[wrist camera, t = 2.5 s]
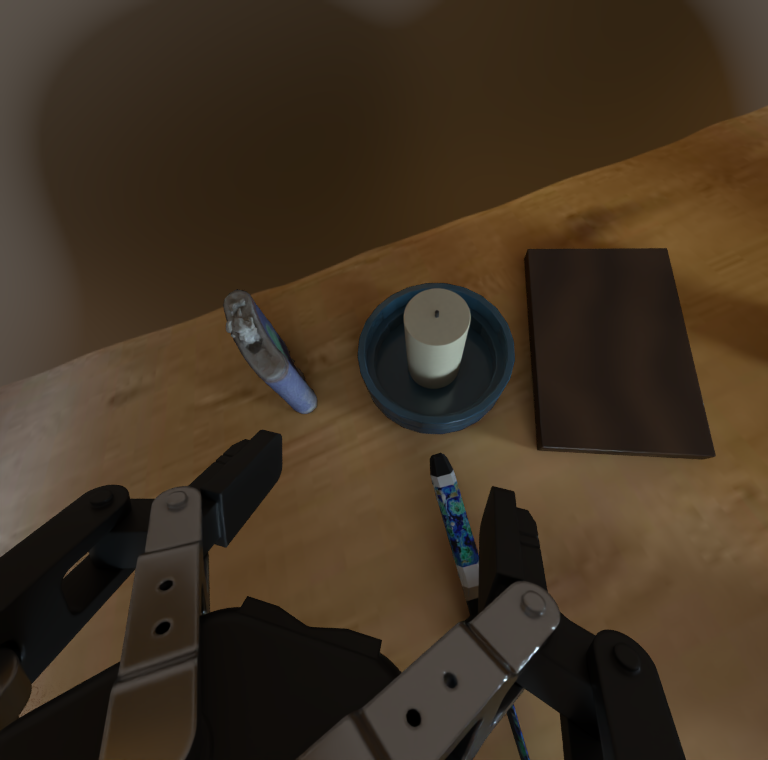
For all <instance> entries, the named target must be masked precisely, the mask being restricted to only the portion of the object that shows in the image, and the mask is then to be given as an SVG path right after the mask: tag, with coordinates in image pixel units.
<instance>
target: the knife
mask: <svg viewBox="0 0 768 760" xmlns="http://www.w3.org/2000/svg"><path fill="white" fill-rule="evenodd" d="M430 475H431V479H432V484H433V486H434V490H435V493H436V499H437V500H438V504H439V507H440V511H441V514H442V518H443V521H444V525H445V528H446V532H447V535H448V539H449V542H450V546H451V549H452V554H453V558H454V560H455V563H456V567H457V570H458V576H459V578H460V581H461V584H462V588H463V591H464V595H465V598H466V602H467V605H468V609H469V612H470V616H469V617H468V618H467V619H466V620H465V622H466V623H469V622H471V621H472V620H473V619H474V618H475V617H476V616H477V615H478V586H479V555H478V551H477V548H476V545H475V542H474V538H473V535H472V531H471V528H470V525H469V521H468V518H467V514H466V511H465V508H464V504H463V501H462V498H461V494H460V490H459V487H458V484H457V481H456V476H455V474H454V471H453V468H452V466H451V464H450V462H449V461H448V459H447V457H446V456H445V455H444V454H442V453H438V454H435V455H432V456H431V458H430ZM507 716H508V719H509V722H510V726H511V729H512V732H513V735H514V739H515V742H516V745H517V748H518V752H519V755H520V758H521V760H530V759H529V756H528V752H527V749H526V745H525V742H524V739H523V735H522V732H521V729H520V725H519V722H518V718H517V715H516V711H515V707H514V704H513V705H512V706H511V707H510V709H509V710H508V711H507Z"/></svg>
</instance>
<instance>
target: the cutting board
mask: <svg viewBox="0 0 768 760" xmlns="http://www.w3.org/2000/svg"><path fill="white" fill-rule="evenodd" d="M524 264H525V278H526V293H527V307H528V322H529V336H530V351H531V365H532V380H533V394H534V408H535V423H536V437H537V450H539V451H557V452H576V453H594V454H612V455H630V456H649V457H667V458H685V459H707V458H711V457H715V456H716V455H715V451H714V447H713V442H712V438H711V434H710V429H709V425H708V421H707V417H706V412H705V408H704V404H703V400H702V395H701V391H700V387H699V383H698V378H697V374H696V370H695V365H694V361H693V357H692V353H691V348H690V344H689V340H688V336H687V331H686V327H685V323H684V319H683V314H682V310H681V306H680V301H679V297H678V293H677V289H676V284H675V280H674V276H673V272H672V267H671V263H670V259H669V255H668V250H667V248H648V249H528V250H527V252H526V255H525V258H524Z"/></svg>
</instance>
